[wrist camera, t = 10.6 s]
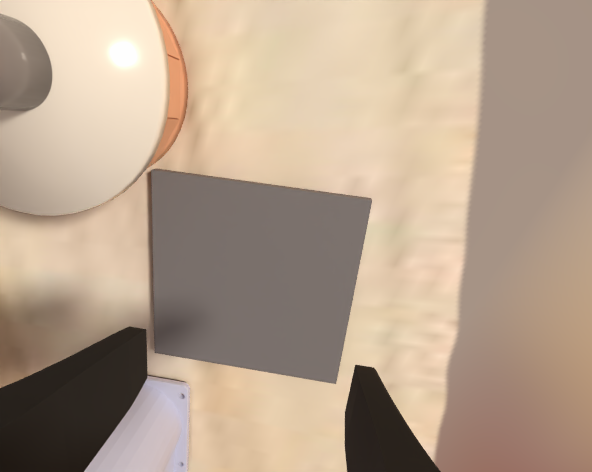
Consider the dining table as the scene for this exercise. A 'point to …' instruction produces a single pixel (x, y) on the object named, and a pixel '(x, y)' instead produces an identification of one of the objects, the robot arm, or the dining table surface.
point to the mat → (254, 272)
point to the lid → (78, 101)
